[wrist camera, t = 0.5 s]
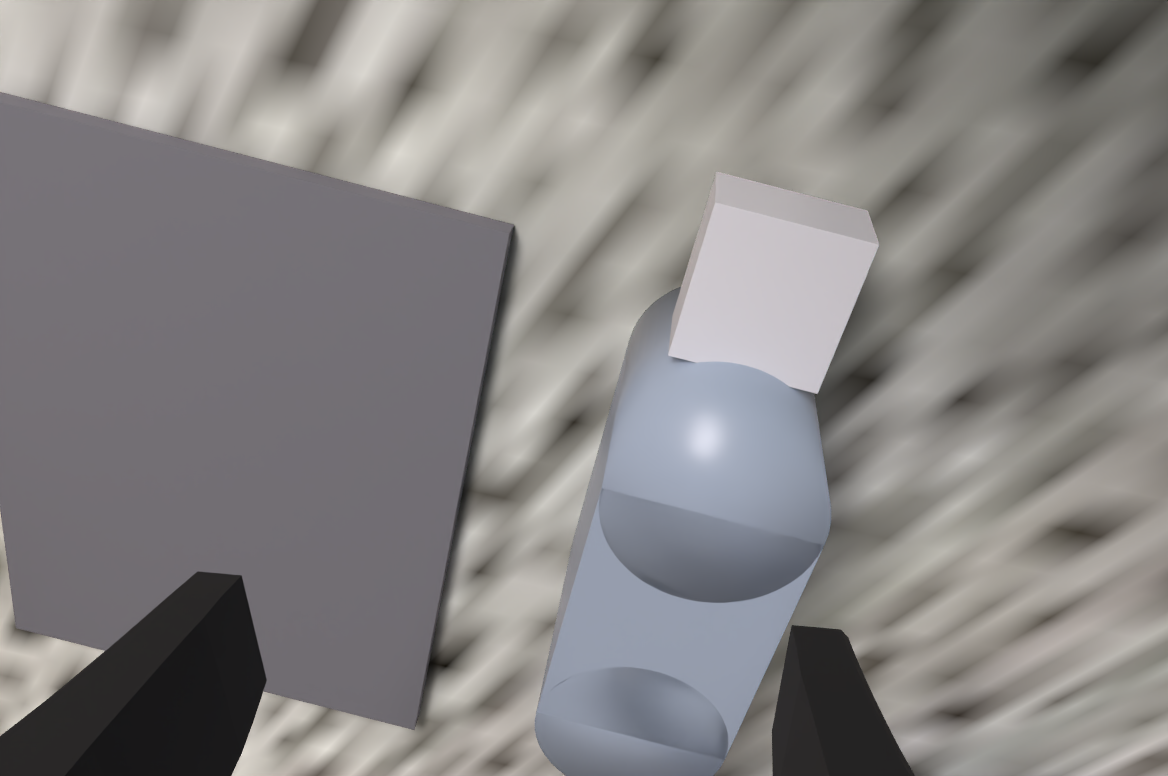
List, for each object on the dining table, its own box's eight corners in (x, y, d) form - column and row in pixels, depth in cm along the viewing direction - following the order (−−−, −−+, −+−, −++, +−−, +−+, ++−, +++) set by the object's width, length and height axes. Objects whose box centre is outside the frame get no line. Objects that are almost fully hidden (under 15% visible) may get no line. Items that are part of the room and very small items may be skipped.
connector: (703, 633, 26) (697, 817, 21) (557, 596, 26) (518, 772, 21) (885, 182, 19) (936, 305, 14) (687, 132, 19) (674, 237, 14)
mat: (419, 716, 29) (414, 729, 28) (26, 615, 29) (16, 627, 28) (513, 224, 20) (509, 233, 20) (-40, 81, 20) (-56, 87, 20)
